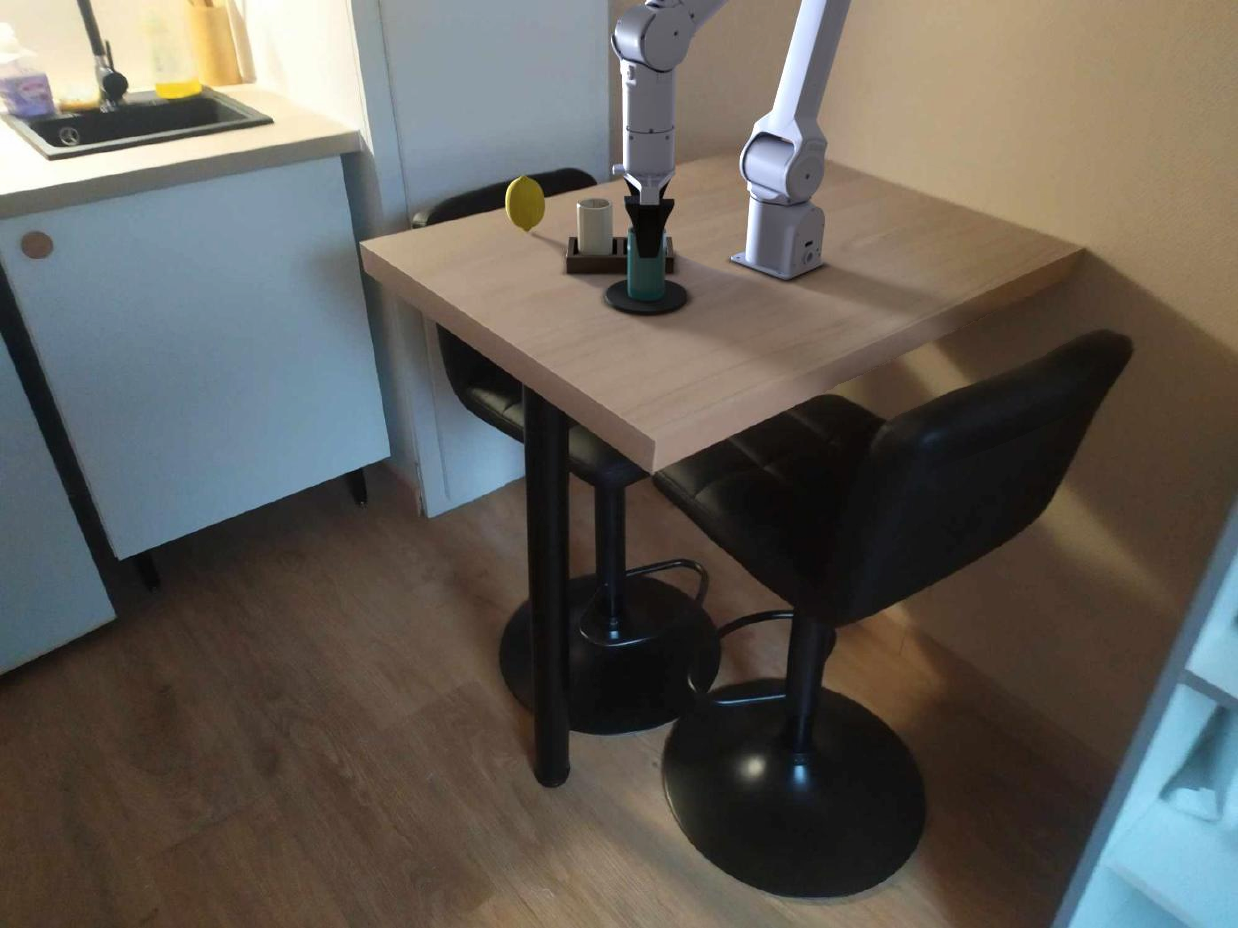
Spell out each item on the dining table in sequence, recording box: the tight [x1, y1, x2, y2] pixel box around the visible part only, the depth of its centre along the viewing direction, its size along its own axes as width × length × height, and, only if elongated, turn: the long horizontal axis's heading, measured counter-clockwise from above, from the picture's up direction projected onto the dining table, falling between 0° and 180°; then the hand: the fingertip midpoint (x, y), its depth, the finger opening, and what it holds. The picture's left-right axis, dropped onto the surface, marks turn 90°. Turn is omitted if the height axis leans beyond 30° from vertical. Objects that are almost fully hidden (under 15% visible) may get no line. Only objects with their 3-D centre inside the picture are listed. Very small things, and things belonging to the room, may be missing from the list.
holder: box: [565, 236, 675, 274], centre depth 122 cm, size 7×14×2 cm, turn 90°
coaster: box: [605, 278, 688, 316], centre depth 113 cm, size 10×10×1 cm
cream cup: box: [576, 197, 614, 255], centre depth 120 cm, size 4×4×8 cm
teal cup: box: [627, 225, 667, 301], centre depth 111 cm, size 4×4×8 cm
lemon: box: [505, 174, 546, 233], centre depth 130 cm, size 6×6×8 cm
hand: (647, 244), depth 109 cm, fingers open, 7 cm apart
